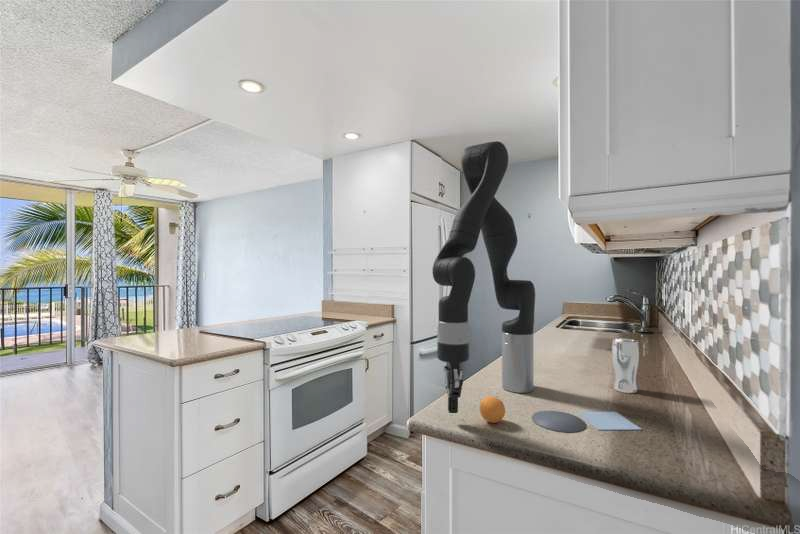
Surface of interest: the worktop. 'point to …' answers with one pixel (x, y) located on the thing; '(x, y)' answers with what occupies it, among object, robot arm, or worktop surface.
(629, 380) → the beer glass
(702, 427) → the worktop surface
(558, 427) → the disc
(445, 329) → the robot arm
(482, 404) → the ball
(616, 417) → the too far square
